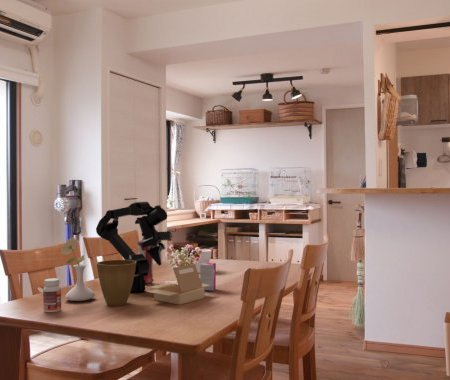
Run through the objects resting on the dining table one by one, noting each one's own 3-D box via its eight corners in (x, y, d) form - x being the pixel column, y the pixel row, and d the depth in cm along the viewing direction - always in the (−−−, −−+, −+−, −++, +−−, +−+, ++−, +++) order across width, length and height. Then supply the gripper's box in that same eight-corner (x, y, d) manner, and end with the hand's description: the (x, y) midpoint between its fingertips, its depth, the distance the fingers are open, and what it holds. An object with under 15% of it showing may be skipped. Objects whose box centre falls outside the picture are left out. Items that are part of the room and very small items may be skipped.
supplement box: (213, 291, 216) (213, 264, 216) (199, 291, 217) (199, 264, 217) (216, 289, 222) (216, 262, 222) (202, 288, 223) (202, 262, 223)
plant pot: (125, 309, 187) (124, 265, 187) (89, 307, 191) (88, 264, 191) (143, 300, 201) (143, 259, 201) (109, 298, 205) (109, 258, 205)
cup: (190, 269, 273) (190, 248, 273) (213, 269, 272) (213, 249, 272) (185, 273, 261) (185, 251, 261) (209, 273, 259) (209, 252, 259)
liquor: (135, 283, 237) (134, 222, 236) (149, 281, 241) (148, 221, 241) (142, 285, 231) (141, 223, 231) (157, 283, 235) (156, 222, 235)
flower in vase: (86, 295, 211) (85, 235, 211) (100, 299, 203) (99, 236, 203) (56, 300, 202) (55, 237, 202) (70, 305, 194) (69, 239, 194)
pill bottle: (60, 312, 184) (60, 280, 184) (42, 313, 183) (42, 281, 183) (62, 308, 190) (61, 277, 190) (44, 309, 189) (44, 278, 189)
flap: (180, 291, 194) (172, 268, 197) (201, 286, 204) (193, 264, 206) (181, 291, 194) (173, 267, 196) (202, 286, 203) (194, 263, 206)
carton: (136, 300, 201) (135, 289, 201) (178, 290, 220) (178, 280, 220) (171, 307, 189) (170, 295, 189) (212, 295, 208) (212, 285, 208)
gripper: (162, 218, 204) (174, 255, 200) (170, 226, 222) (182, 260, 218) (135, 228, 204) (147, 265, 200) (146, 235, 222) (157, 269, 218)
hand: (160, 265), depth 209 cm, fingers closed
